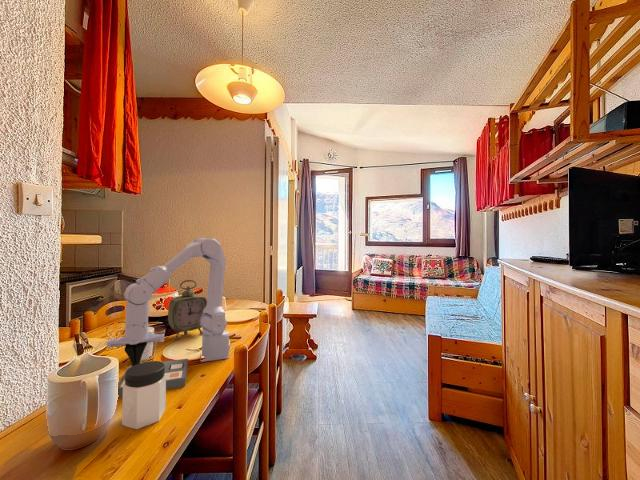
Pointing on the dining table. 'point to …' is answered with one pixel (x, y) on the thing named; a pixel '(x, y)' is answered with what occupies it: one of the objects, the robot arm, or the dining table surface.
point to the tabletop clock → (186, 311)
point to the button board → (173, 377)
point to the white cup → (148, 346)
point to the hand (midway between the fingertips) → (136, 367)
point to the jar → (144, 394)
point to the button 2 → (176, 366)
